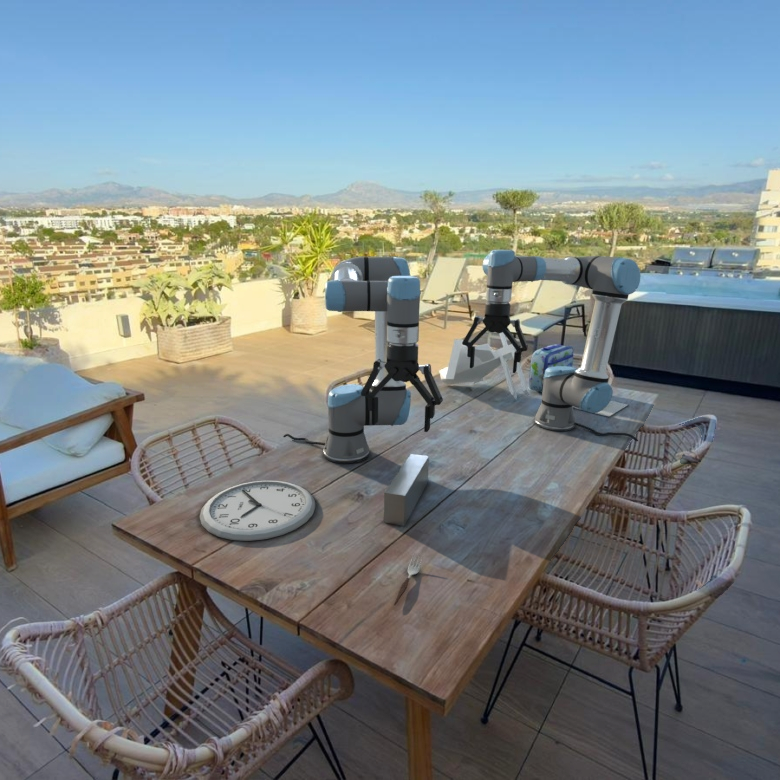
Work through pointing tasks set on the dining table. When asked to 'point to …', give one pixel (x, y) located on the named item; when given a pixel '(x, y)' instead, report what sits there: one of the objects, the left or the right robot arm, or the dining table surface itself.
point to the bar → (405, 489)
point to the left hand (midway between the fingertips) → (400, 426)
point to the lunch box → (548, 363)
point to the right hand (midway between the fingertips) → (492, 369)
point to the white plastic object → (481, 364)
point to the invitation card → (611, 408)
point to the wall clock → (257, 510)
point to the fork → (412, 571)
